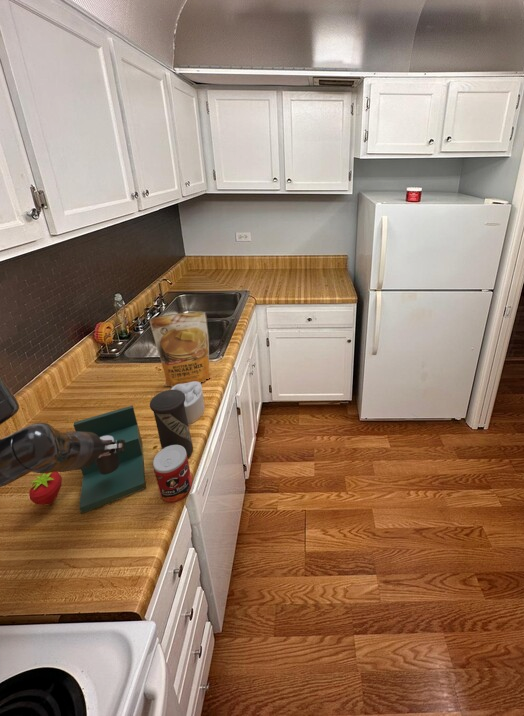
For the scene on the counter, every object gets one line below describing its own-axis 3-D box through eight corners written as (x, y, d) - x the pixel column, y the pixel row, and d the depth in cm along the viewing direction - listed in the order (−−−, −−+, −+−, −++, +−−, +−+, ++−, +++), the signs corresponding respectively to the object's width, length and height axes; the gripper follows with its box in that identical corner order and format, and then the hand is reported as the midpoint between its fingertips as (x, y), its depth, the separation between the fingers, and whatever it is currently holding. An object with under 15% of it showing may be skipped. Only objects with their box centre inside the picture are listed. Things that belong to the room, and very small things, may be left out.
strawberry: (72, 486, 86) (61, 457, 82) (59, 513, 79) (46, 484, 76) (46, 491, 85) (34, 462, 81) (30, 519, 78) (16, 489, 74)
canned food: (159, 508, 81) (151, 475, 77) (160, 480, 88) (153, 449, 83) (193, 497, 83) (186, 465, 79) (191, 471, 90) (185, 440, 86)
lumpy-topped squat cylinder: (204, 396, 119) (201, 375, 116) (205, 420, 108) (201, 399, 105) (173, 402, 116) (169, 381, 113) (170, 428, 105) (166, 406, 102)
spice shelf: (81, 513, 79) (64, 471, 74) (87, 461, 93) (73, 422, 88) (145, 488, 86) (134, 447, 80) (142, 442, 100) (132, 405, 94)
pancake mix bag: (163, 380, 128) (149, 314, 118) (214, 371, 133) (205, 308, 123) (160, 390, 122) (146, 322, 112) (214, 381, 127) (205, 315, 117)
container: (176, 470, 91) (163, 412, 83) (155, 456, 95) (141, 400, 87) (200, 448, 97) (191, 393, 90) (180, 436, 102) (169, 382, 94)
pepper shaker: (98, 478, 81) (90, 453, 78) (99, 463, 85) (91, 439, 82) (120, 470, 83) (113, 445, 80) (120, 456, 87) (113, 432, 84)
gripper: (112, 426, 72) (140, 429, 87) (37, 436, 69) (80, 437, 85) (108, 465, 69) (138, 460, 84) (30, 476, 66) (75, 469, 82)
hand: (108, 448), depth 84 cm, fingers closed on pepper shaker, 4 cm apart
